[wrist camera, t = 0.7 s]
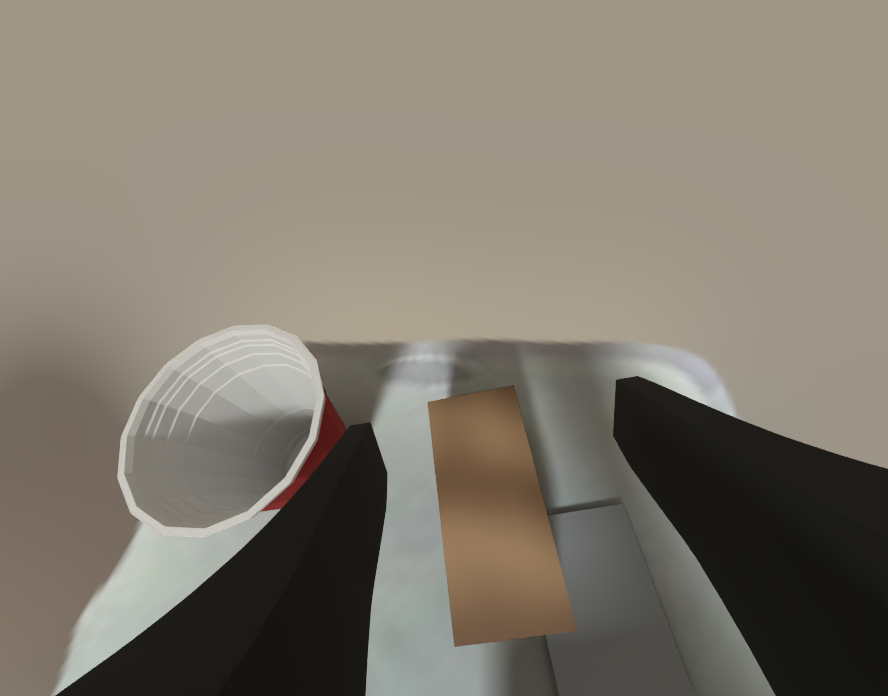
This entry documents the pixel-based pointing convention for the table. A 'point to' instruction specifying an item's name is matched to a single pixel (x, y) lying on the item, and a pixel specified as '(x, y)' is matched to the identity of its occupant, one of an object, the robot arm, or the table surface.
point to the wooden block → (494, 523)
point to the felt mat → (611, 613)
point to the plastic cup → (226, 432)
